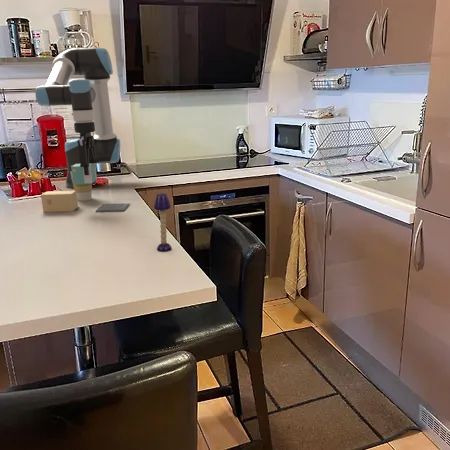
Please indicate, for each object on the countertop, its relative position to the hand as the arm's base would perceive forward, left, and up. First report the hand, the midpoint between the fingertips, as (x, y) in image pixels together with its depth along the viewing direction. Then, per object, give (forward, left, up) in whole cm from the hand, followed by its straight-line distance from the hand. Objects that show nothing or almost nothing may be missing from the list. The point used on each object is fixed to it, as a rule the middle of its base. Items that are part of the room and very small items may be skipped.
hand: (90, 181), depth 184 cm
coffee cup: (-18, -9, -11) cm, 23 cm away
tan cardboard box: (0, -13, -11) cm, 17 cm away
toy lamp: (+52, +36, -11) cm, 64 cm away
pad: (0, +8, -11) cm, 14 cm away
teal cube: (0, -2, 0) cm, 3 cm away
